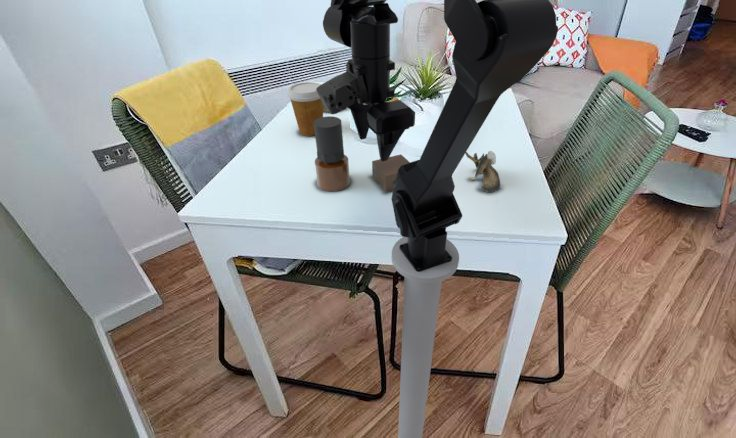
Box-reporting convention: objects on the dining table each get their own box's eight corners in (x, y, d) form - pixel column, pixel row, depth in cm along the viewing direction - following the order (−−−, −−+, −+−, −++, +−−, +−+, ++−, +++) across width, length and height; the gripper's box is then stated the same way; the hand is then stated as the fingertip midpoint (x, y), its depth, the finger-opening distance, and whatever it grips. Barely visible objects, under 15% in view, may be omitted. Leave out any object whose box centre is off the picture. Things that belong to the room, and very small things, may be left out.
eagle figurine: (453, 167, 83) (466, 181, 75) (473, 139, 81) (488, 151, 73) (480, 183, 85) (495, 198, 77) (500, 156, 83) (518, 169, 75)
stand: (415, 184, 80) (416, 168, 78) (385, 192, 78) (385, 176, 76) (400, 170, 85) (401, 154, 83) (372, 177, 83) (371, 160, 81)
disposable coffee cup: (306, 122, 109) (300, 79, 101) (335, 127, 105) (331, 83, 98) (286, 135, 102) (279, 91, 95) (316, 141, 98) (311, 95, 91)
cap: (349, 155, 78) (347, 120, 74) (330, 165, 75) (327, 129, 70) (331, 147, 81) (327, 114, 77) (312, 157, 78) (307, 122, 73)
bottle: (354, 186, 80) (352, 152, 75) (323, 194, 78) (319, 160, 73) (343, 171, 85) (340, 139, 81) (313, 178, 83) (309, 145, 79)
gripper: (301, 47, 61) (313, 137, 70) (340, 79, 47) (348, 186, 56) (365, 39, 64) (368, 126, 73) (419, 67, 50) (414, 169, 60)
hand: (372, 149), depth 66 cm, fingers open, 9 cm apart
